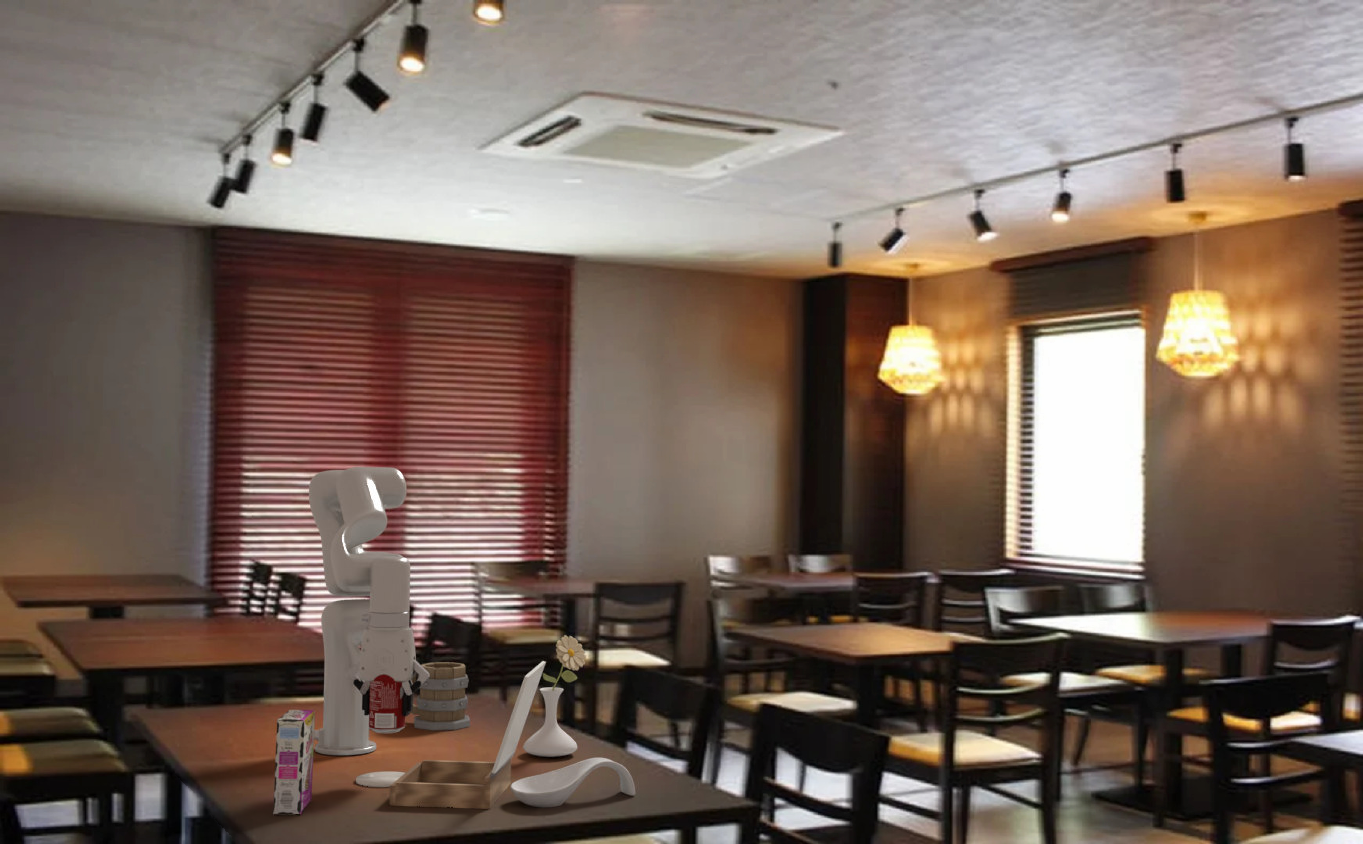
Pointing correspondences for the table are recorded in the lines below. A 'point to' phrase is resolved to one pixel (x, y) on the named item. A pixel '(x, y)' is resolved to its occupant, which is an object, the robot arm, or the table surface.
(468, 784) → the open wooden box
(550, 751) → the flower in vase
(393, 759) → the table surface
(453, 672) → the tankard
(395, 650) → the robot arm
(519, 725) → the lid
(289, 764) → the candy bar box
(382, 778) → the disc
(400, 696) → the soda can
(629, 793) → the spoon rest
